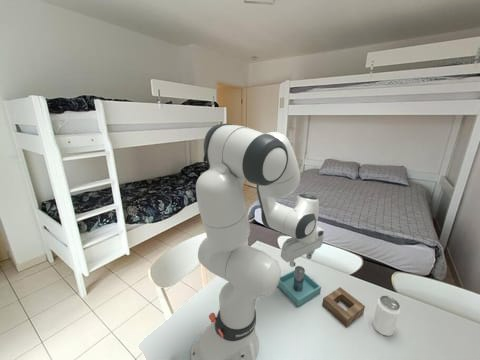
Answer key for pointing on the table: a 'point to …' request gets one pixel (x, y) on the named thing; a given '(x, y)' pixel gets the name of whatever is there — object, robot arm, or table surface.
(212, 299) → the table surface
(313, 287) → the tray
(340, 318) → the pin block
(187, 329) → the table surface
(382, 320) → the can
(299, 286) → the pin
